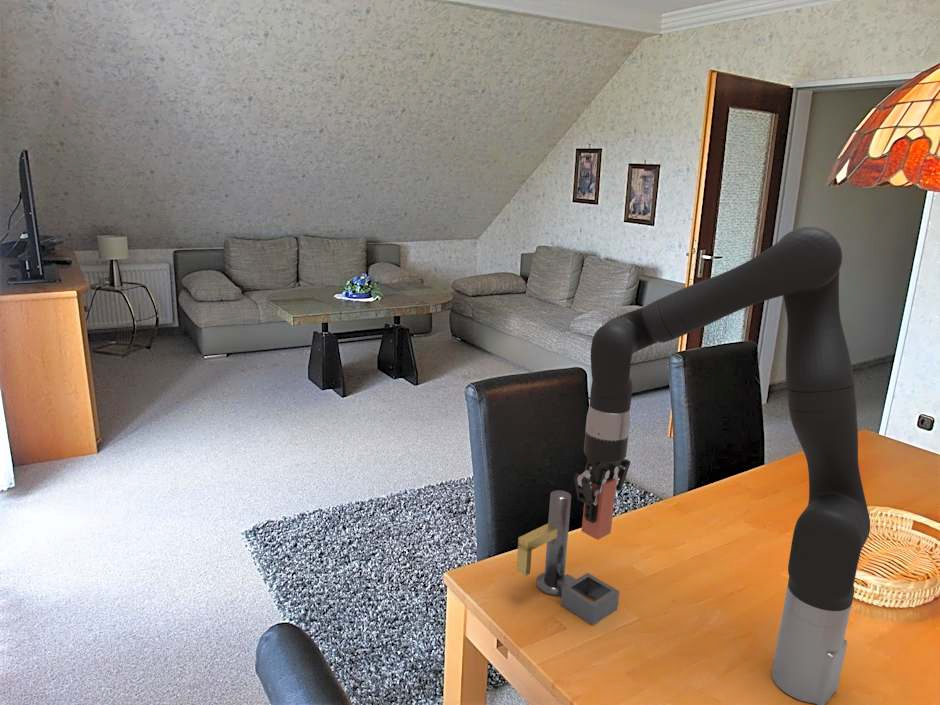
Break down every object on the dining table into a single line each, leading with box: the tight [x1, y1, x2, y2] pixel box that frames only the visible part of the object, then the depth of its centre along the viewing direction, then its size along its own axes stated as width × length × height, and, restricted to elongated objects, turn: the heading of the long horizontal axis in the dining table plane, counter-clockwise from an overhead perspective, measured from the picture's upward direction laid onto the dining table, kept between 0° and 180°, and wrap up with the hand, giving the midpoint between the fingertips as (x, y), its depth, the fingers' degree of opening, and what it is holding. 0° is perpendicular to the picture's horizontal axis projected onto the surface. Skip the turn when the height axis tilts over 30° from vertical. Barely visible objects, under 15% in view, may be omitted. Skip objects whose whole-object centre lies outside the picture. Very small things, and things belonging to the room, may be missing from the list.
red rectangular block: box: [581, 479, 617, 541], centre depth 123 cm, size 4×4×11 cm
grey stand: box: [516, 489, 620, 626], centre depth 127 cm, size 16×14×20 cm
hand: (598, 516), depth 124 cm, fingers closed on red rectangular block, 3 cm apart
